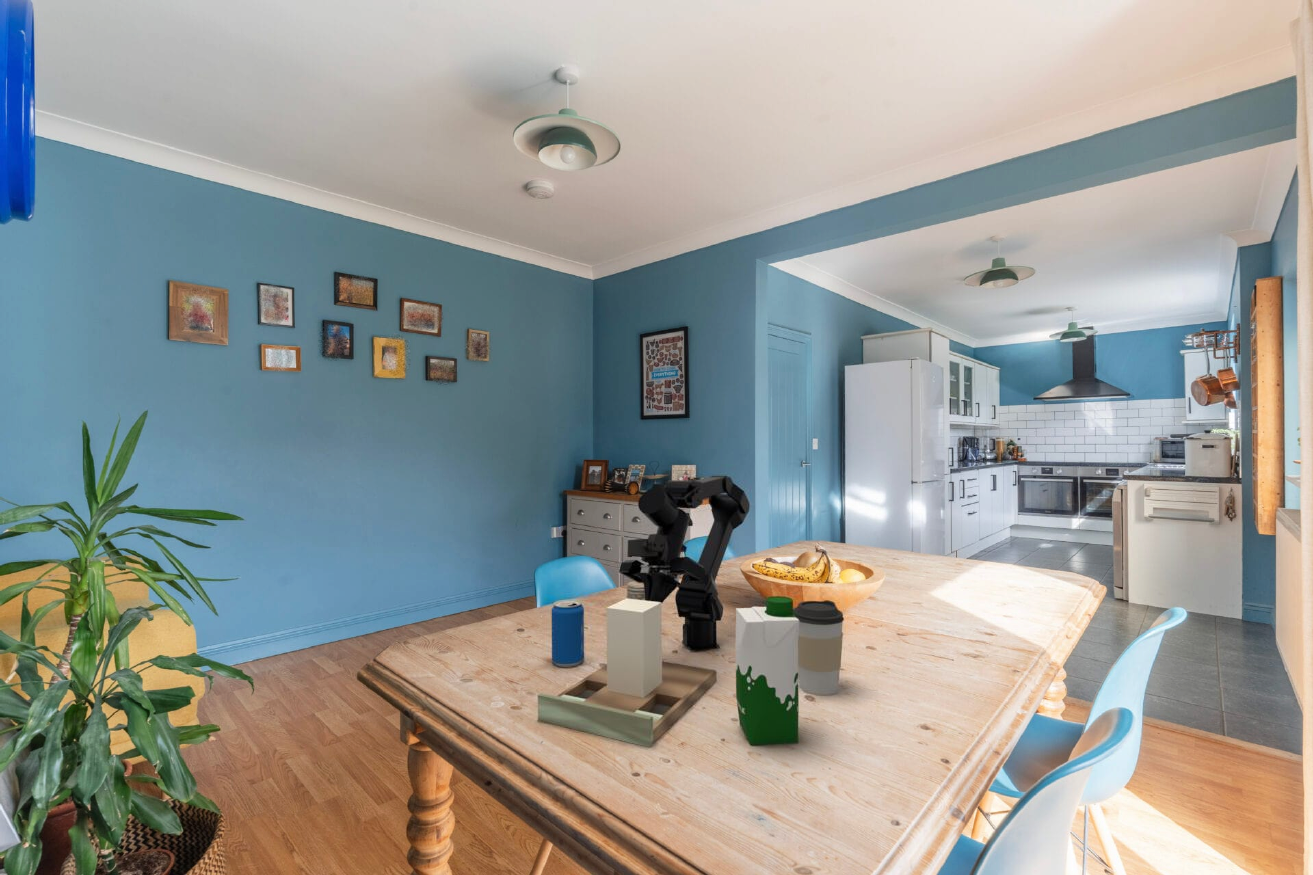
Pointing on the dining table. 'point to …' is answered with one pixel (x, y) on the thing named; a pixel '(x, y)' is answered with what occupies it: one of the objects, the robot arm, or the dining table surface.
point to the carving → (635, 591)
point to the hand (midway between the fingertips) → (648, 613)
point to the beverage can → (567, 633)
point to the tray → (627, 704)
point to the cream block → (634, 647)
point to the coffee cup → (819, 646)
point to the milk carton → (768, 671)
